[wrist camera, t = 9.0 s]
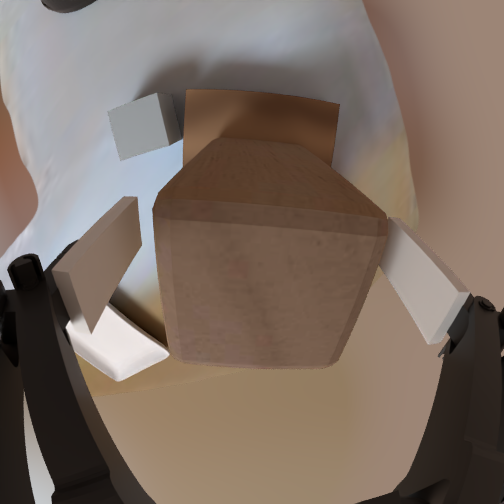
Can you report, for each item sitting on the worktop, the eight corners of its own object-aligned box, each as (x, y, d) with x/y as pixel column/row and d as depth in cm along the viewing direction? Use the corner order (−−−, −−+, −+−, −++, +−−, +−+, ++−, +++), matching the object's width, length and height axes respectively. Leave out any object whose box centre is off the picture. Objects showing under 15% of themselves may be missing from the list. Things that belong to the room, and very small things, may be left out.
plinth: (194, 91, 28) (186, 89, 24) (327, 104, 29) (339, 104, 25) (190, 213, 36) (182, 228, 32) (309, 221, 37) (317, 238, 33)
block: (306, 144, 27) (403, 217, 10) (293, 229, 32) (338, 374, 15) (211, 135, 27) (142, 192, 9) (207, 223, 31) (166, 367, 14)
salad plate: (121, 373, 56) (118, 384, 53) (51, 317, 47) (44, 328, 44) (176, 342, 49) (172, 355, 46) (88, 269, 41) (80, 280, 38)
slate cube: (128, 109, 29) (107, 111, 24) (171, 94, 28) (156, 92, 23) (139, 151, 32) (120, 160, 27) (182, 139, 31) (169, 145, 26)
